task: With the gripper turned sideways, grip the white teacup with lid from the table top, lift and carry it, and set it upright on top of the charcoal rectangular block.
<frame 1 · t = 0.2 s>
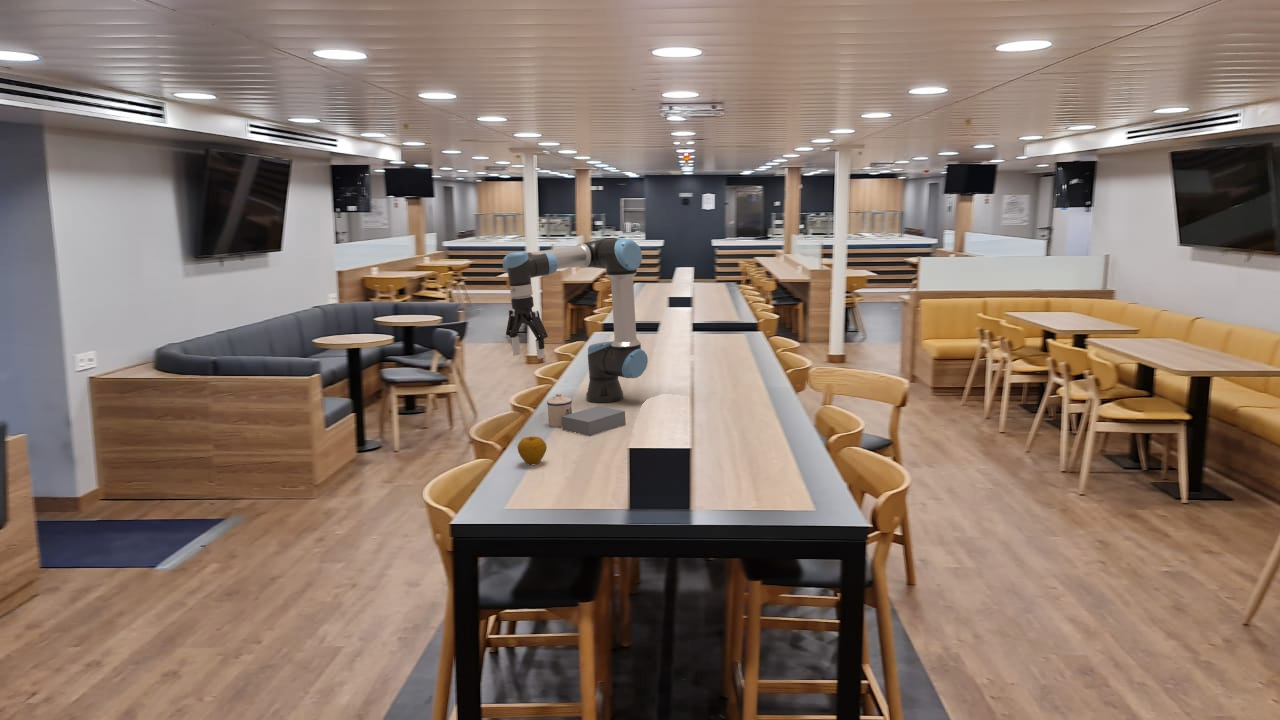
hand: (528, 356, 310), 27 cm above the table, tool pointing down, fingers open, 13 cm apart
charcoal rectangular block: (594, 427, 316), on the table
teacup with lid: (562, 423, 324), on the table
apple: (533, 464, 277), on the table
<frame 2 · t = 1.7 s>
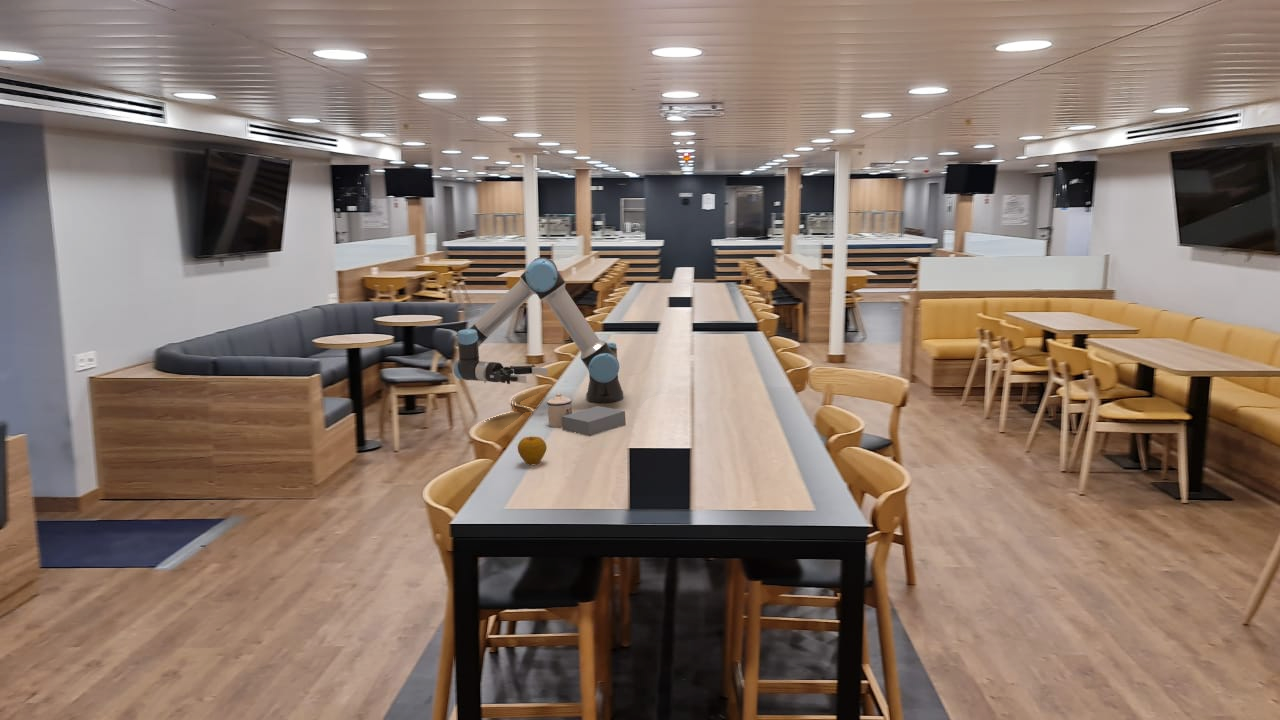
hand: (536, 375, 325), 18 cm above the table, tool horizontal, fingers open, 13 cm apart
nothing on the table moved.
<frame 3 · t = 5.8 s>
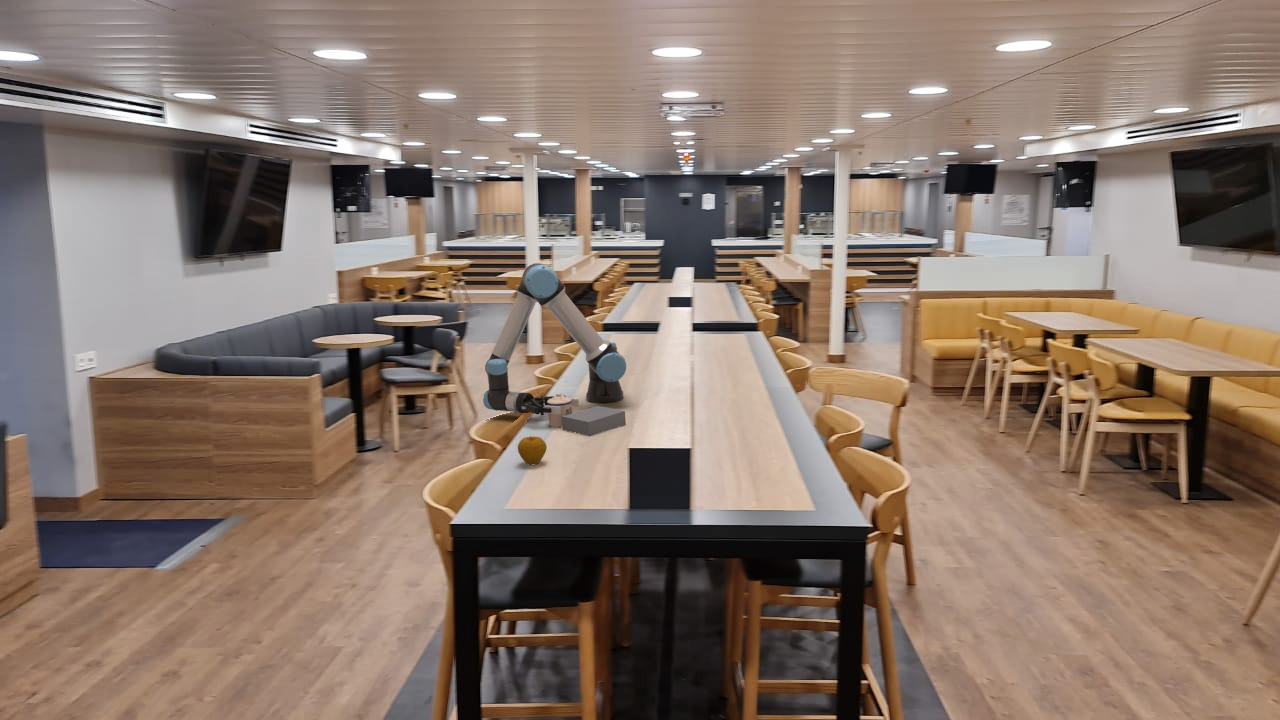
hand: (569, 406, 321), 7 cm above the table, tool horizontal, fingers closed on teacup with lid, 12 cm apart
teacup with lid: (562, 423, 324), on the table, touching gripper
everything else where it was.
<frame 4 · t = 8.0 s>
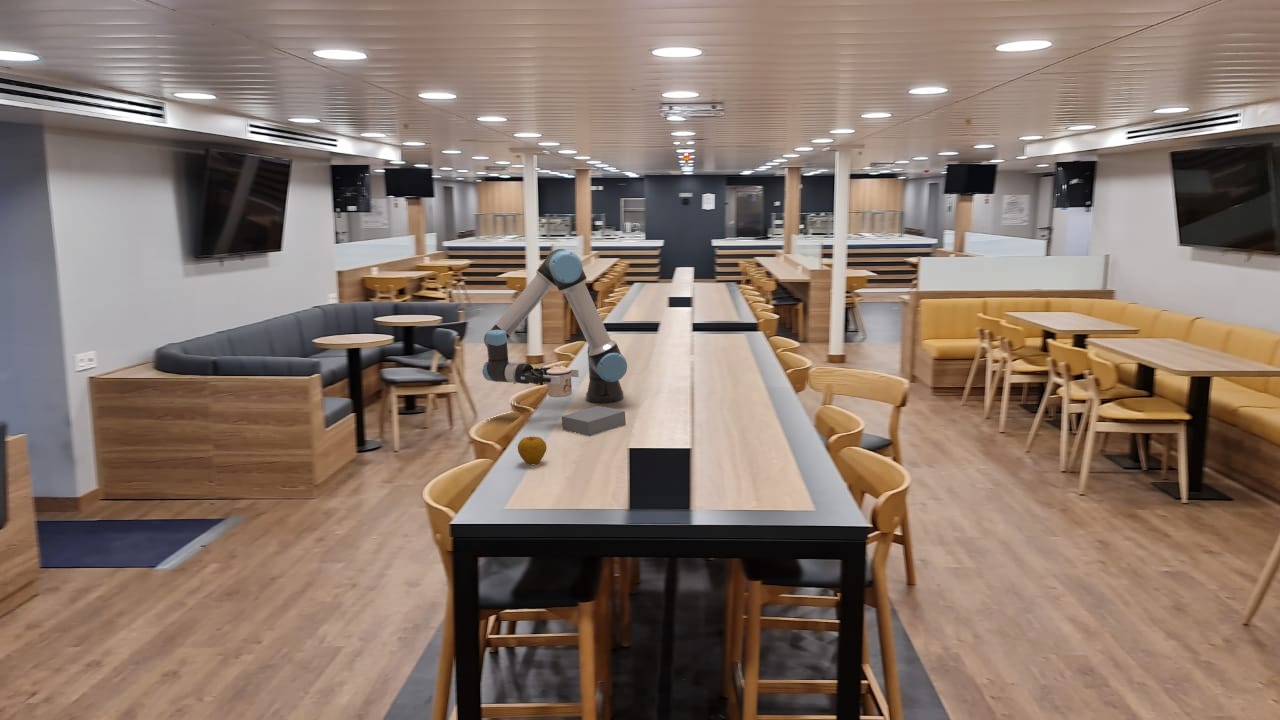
hand: (568, 376, 318), 18 cm above the table, tool horizontal, fingers closed on teacup with lid, 12 cm apart
teacup with lid: (561, 394, 321), point 11 cm above the table, touching gripper
everything else where it was.
when the fingers open (13 cm above the table, at t = 10.3 s): teacup with lid drops 1 cm, resting on charcoal rectangular block.
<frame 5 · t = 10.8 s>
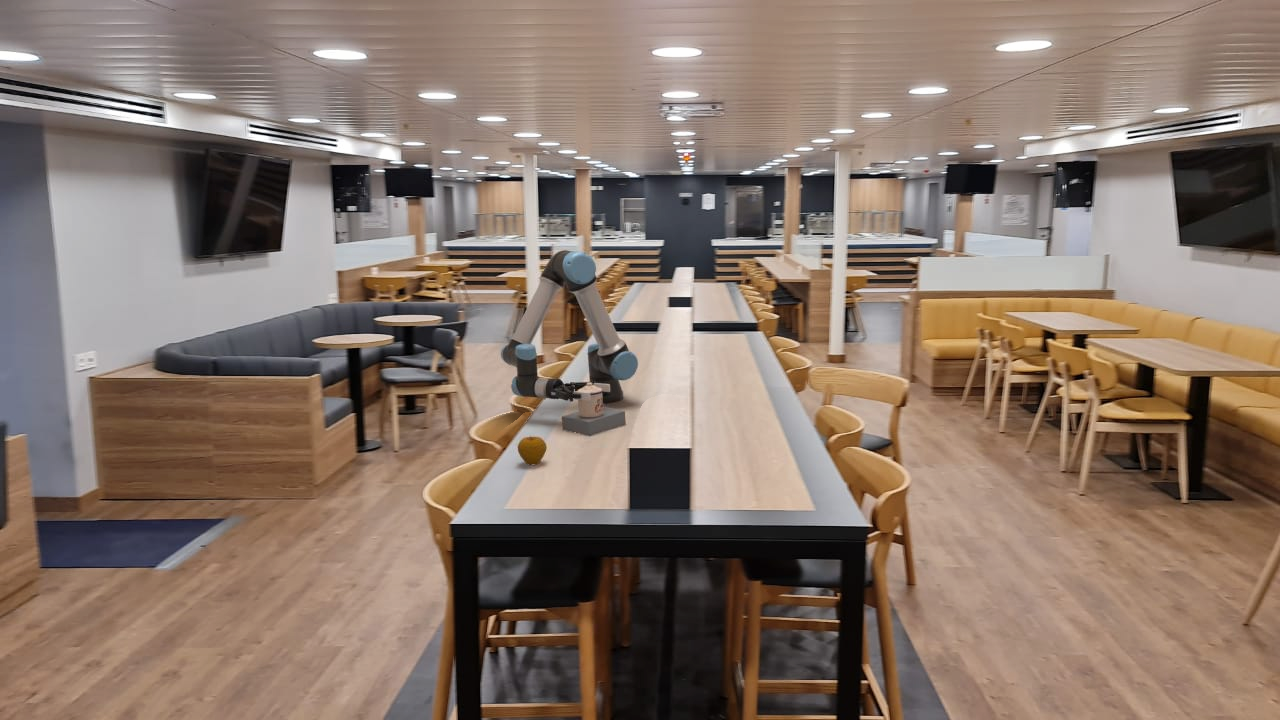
hand: (600, 392, 312), 13 cm above the table, tool horizontal, fingers open, 13 cm apart
teacup with lid: (592, 414, 315), point 5 cm above the table, touching charcoal rectangular block, gripper
everything else where it was.
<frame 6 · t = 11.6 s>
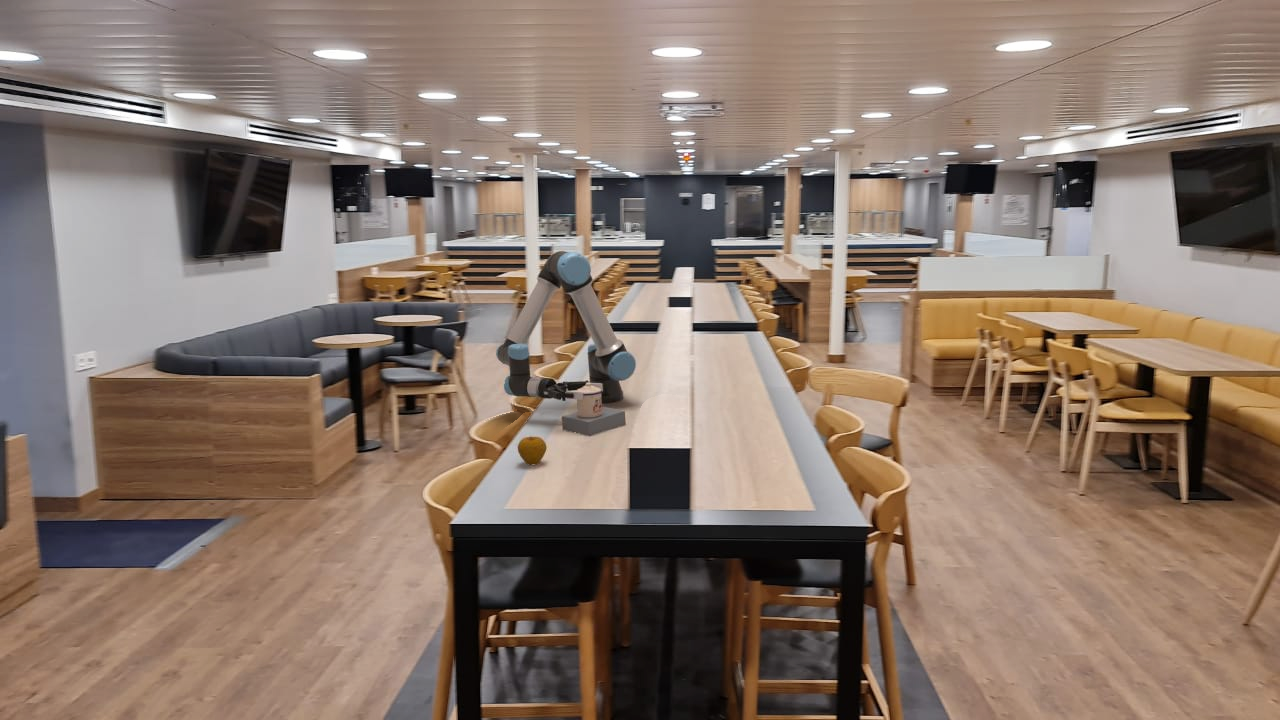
hand: (592, 391, 314), 13 cm above the table, tool horizontal, fingers open, 13 cm apart
nothing on the table moved.
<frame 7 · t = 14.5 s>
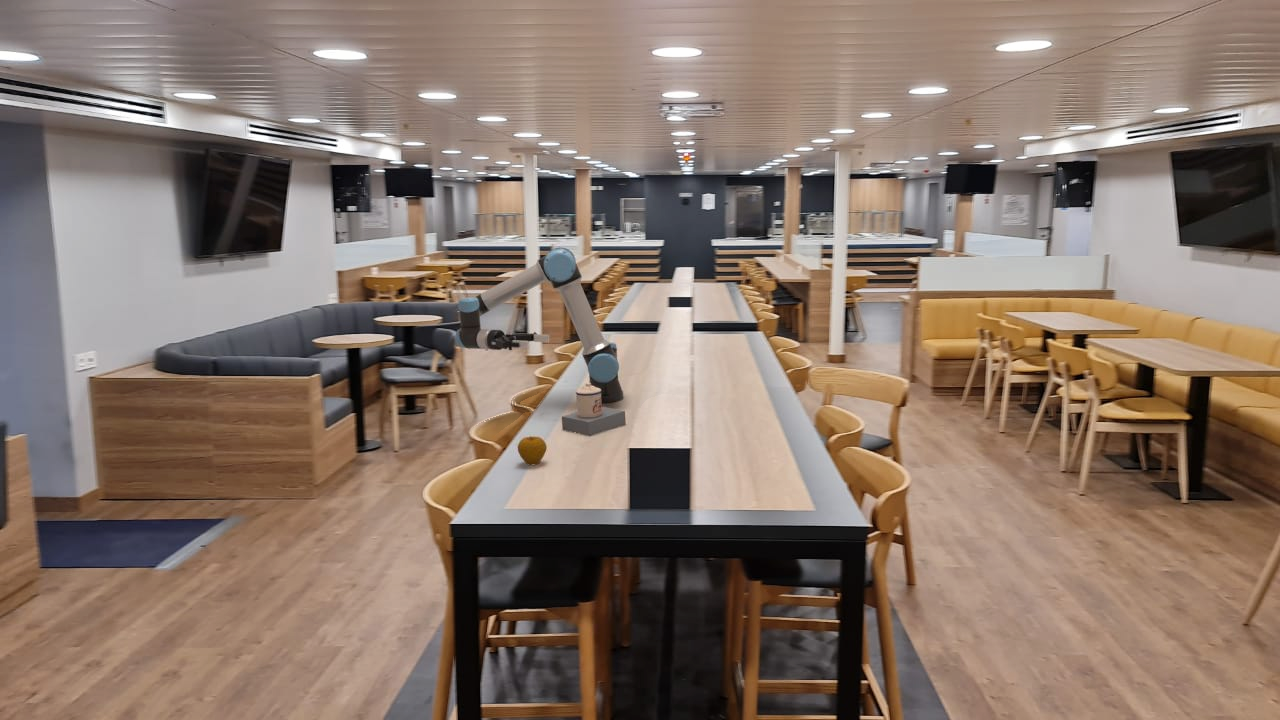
hand: (538, 341, 323), 30 cm above the table, tool horizontal, fingers open, 13 cm apart
teacup with lid: (591, 414, 315), point 5 cm above the table, touching charcoal rectangular block
everything else where it was.
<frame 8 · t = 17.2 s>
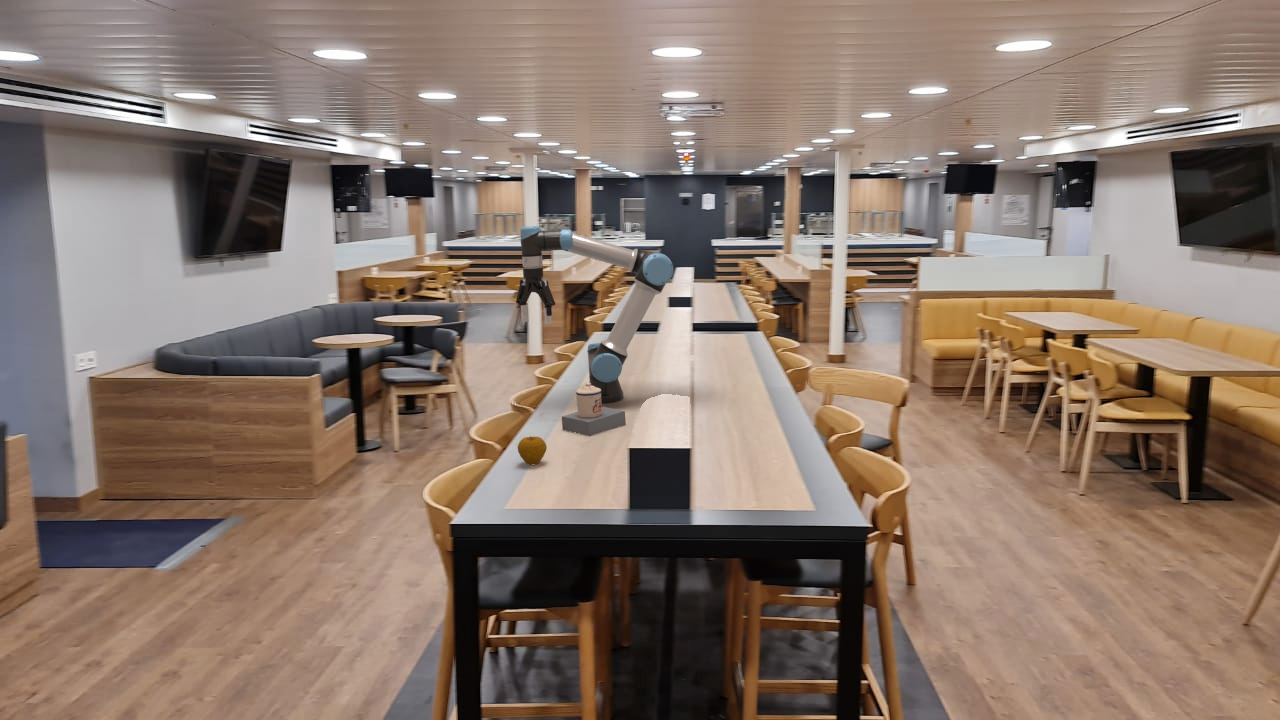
hand: (536, 323, 336), 35 cm above the table, tool pointing down, fingers open, 13 cm apart
nothing on the table moved.
at the end: teacup with lid inside the target area on the charcoal rectangular block (0.8 cm from its centre), point 4.8 cm above the charcoal rectangular block's base; teacup with lid tilted 0°; the gripper is holding nothing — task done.
